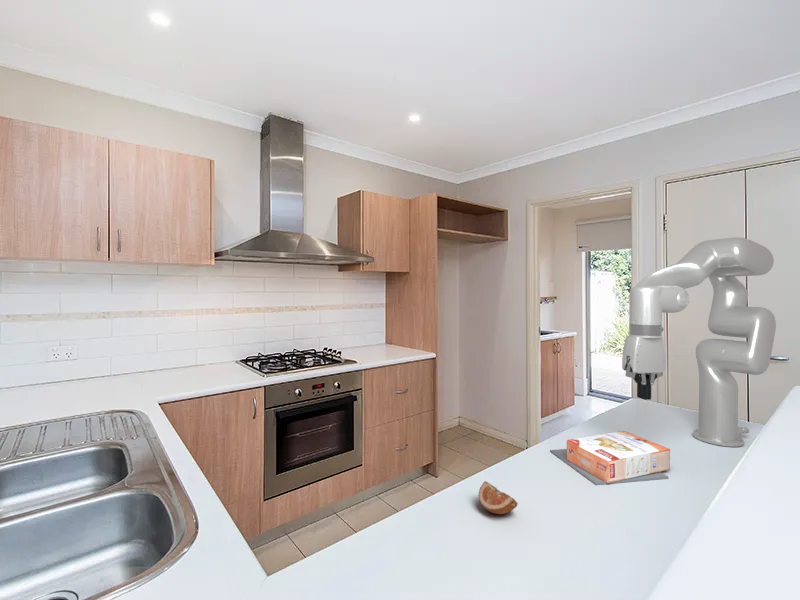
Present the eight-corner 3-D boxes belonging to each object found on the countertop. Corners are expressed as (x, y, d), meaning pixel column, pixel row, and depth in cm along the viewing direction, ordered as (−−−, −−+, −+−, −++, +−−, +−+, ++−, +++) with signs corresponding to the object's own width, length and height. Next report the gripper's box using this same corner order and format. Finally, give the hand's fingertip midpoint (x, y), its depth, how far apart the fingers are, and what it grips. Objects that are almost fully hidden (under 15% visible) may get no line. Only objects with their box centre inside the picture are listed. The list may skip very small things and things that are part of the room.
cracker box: (671, 447, 100) (607, 460, 93) (671, 470, 100) (608, 485, 94) (623, 428, 114) (565, 439, 107) (623, 449, 114) (565, 461, 107)
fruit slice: (524, 517, 80) (524, 493, 80) (499, 527, 77) (500, 502, 77) (495, 499, 88) (495, 477, 88) (471, 507, 84) (472, 484, 84)
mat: (611, 447, 117) (611, 445, 117) (668, 478, 97) (668, 476, 97) (550, 451, 114) (550, 450, 114) (595, 485, 94) (595, 483, 94)
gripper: (657, 329, 112) (656, 394, 112) (610, 330, 109) (609, 396, 110) (680, 332, 105) (679, 401, 105) (631, 333, 102) (630, 403, 102)
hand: (643, 398), depth 107 cm, fingers closed
